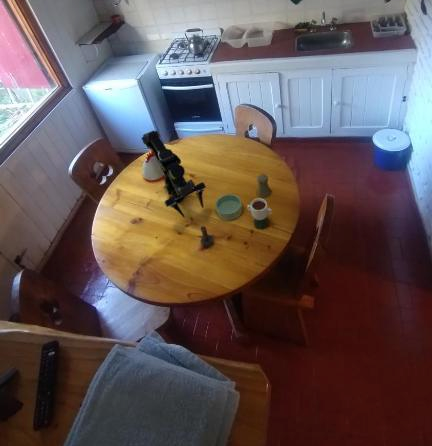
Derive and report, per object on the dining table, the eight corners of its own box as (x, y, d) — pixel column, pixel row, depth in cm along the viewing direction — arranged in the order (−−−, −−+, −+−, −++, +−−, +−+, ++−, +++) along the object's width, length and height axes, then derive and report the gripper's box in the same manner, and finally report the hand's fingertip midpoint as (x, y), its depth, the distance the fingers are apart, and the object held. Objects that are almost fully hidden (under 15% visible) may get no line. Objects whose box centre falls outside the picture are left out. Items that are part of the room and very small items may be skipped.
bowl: (212, 216, 163) (210, 209, 161) (224, 197, 171) (222, 191, 168) (235, 223, 158) (234, 217, 155) (246, 204, 166) (245, 198, 163)
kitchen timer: (173, 169, 194) (166, 148, 185) (157, 185, 186) (149, 164, 177) (154, 162, 201) (147, 142, 192) (138, 178, 193) (130, 157, 184)
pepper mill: (256, 189, 172) (254, 173, 165) (268, 187, 172) (267, 171, 165) (259, 198, 167) (257, 182, 161) (271, 195, 167) (269, 179, 160)
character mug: (274, 219, 156) (273, 200, 148) (271, 232, 151) (269, 213, 143) (251, 215, 160) (248, 196, 152) (247, 227, 155) (244, 208, 147)
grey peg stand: (199, 245, 152) (195, 231, 146) (205, 236, 155) (201, 222, 149) (209, 248, 149) (205, 234, 143) (214, 239, 153) (211, 225, 146)
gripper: (159, 188, 141) (176, 222, 140) (200, 168, 147) (216, 201, 145) (158, 190, 152) (173, 222, 150) (195, 171, 157) (210, 202, 156)
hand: (193, 212), depth 150 cm, fingers open, 9 cm apart
